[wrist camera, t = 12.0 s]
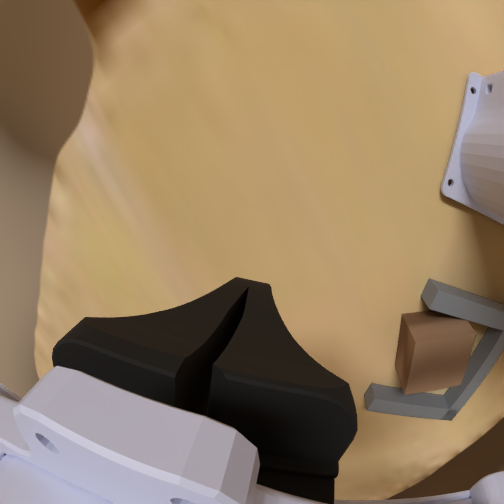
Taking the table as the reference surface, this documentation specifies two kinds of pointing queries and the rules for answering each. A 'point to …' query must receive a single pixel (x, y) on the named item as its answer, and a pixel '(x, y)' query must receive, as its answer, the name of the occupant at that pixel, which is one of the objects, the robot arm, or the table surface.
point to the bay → (480, 363)
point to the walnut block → (432, 351)
